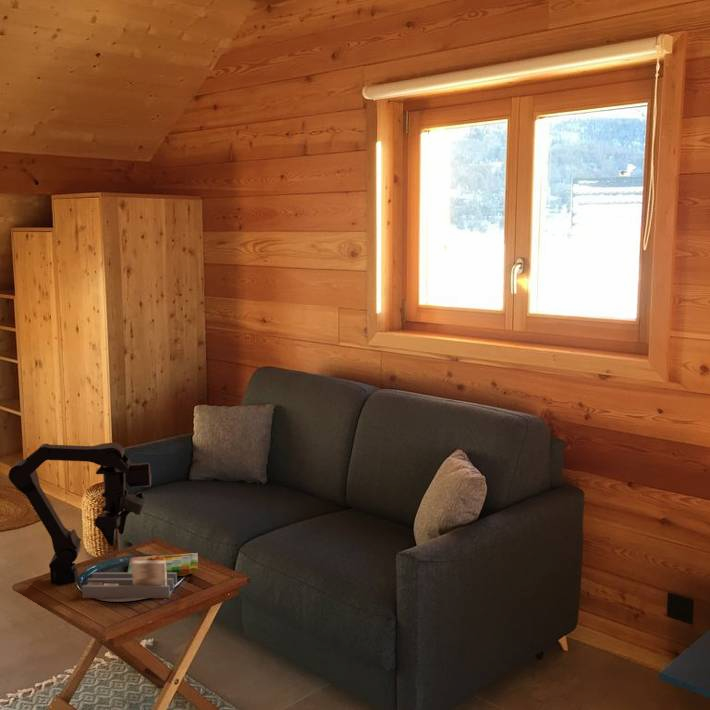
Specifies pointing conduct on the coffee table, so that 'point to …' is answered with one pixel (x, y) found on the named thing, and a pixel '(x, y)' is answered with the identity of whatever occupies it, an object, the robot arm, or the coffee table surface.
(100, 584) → the offcut dark
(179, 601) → the coffee table surface
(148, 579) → the beige square panel
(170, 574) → the rack
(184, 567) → the puzzle game
